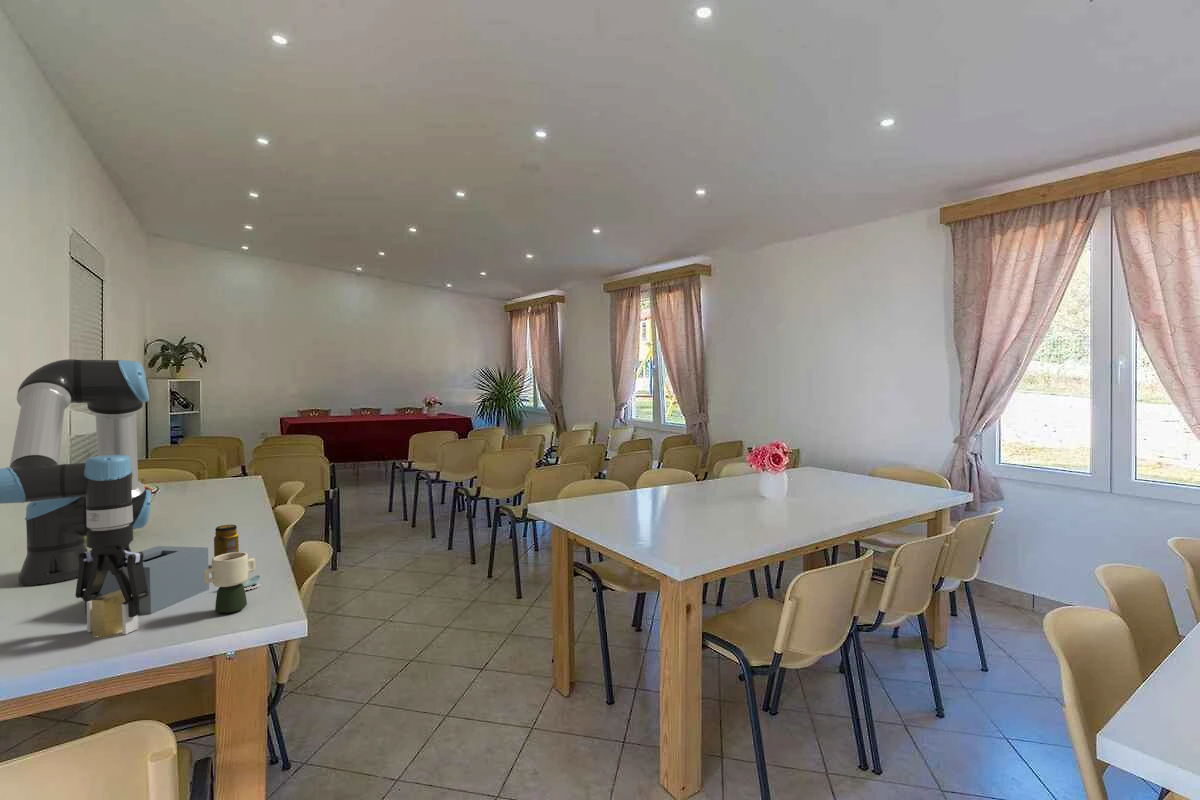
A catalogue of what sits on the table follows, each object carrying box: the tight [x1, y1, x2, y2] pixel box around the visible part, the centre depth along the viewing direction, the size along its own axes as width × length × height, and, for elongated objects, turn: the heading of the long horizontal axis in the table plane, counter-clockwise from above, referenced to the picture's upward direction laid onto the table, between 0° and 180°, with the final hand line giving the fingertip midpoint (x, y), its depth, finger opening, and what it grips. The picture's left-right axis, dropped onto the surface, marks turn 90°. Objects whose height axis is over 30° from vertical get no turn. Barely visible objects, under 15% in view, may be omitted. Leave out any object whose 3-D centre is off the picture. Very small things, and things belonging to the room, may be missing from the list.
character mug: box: [204, 551, 256, 613], centre depth 129 cm, size 11×7×13 cm, turn 147°
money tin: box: [97, 545, 210, 615], centre depth 136 cm, size 15×16×11 cm
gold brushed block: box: [92, 590, 132, 638], centre depth 118 cm, size 3×6×8 cm, turn 172°
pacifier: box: [242, 565, 261, 592], centre depth 143 cm, size 7×6×6 cm
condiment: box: [213, 524, 240, 558], centre depth 162 cm, size 7×8×12 cm
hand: (112, 630), depth 118 cm, fingers open, 8 cm apart
